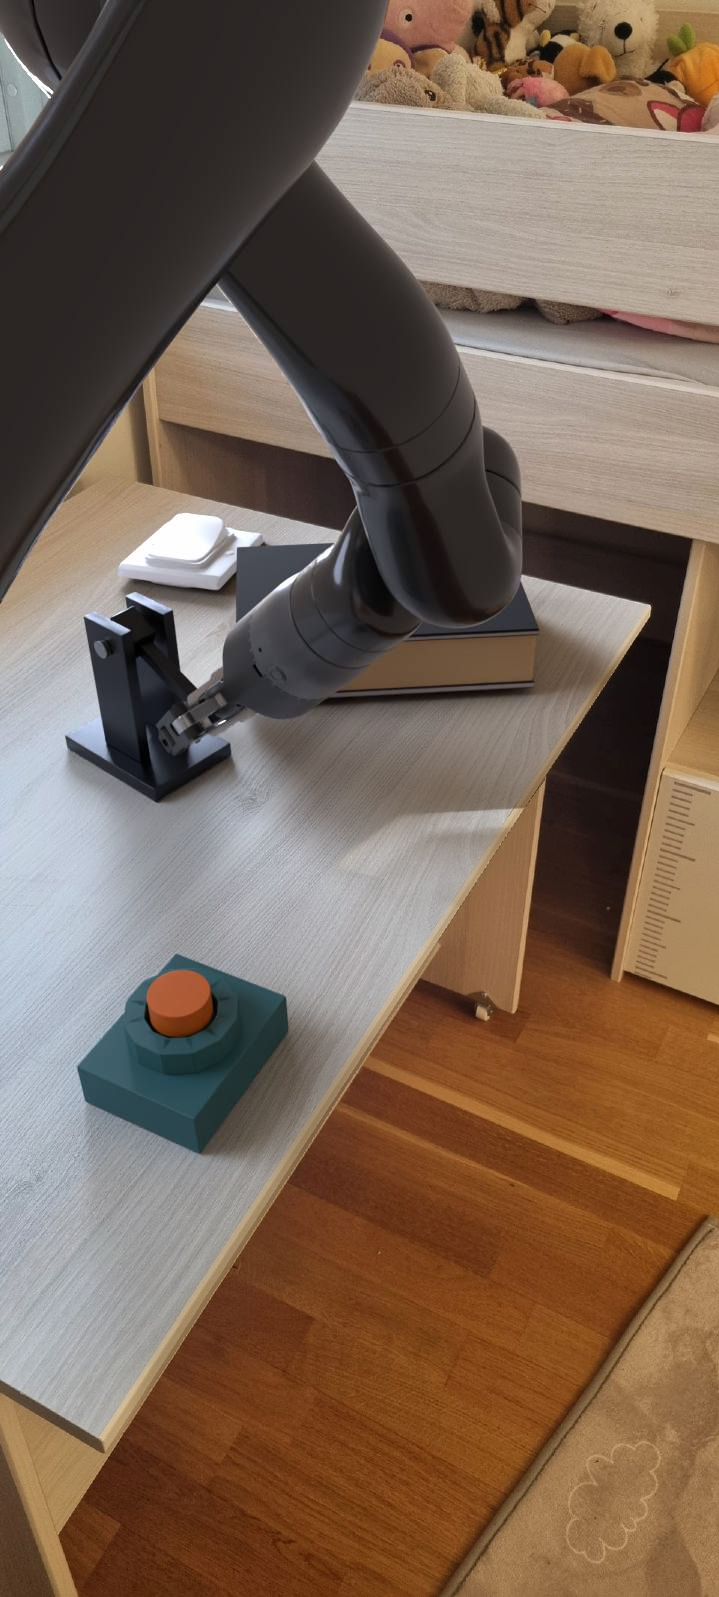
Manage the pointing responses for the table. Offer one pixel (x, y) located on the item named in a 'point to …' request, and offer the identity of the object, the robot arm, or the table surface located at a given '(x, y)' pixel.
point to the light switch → (189, 553)
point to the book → (425, 657)
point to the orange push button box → (185, 1059)
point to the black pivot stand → (138, 709)
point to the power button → (180, 1003)
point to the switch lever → (153, 652)
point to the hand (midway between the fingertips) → (195, 727)
